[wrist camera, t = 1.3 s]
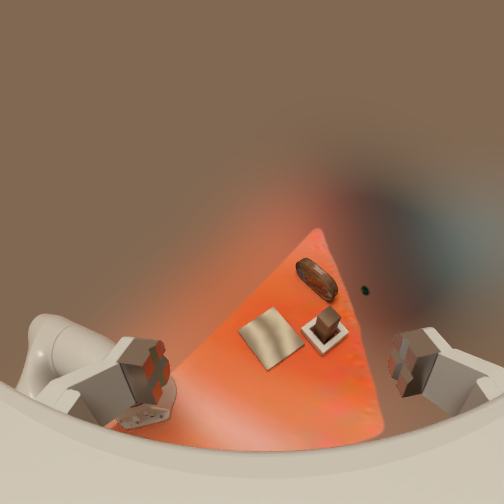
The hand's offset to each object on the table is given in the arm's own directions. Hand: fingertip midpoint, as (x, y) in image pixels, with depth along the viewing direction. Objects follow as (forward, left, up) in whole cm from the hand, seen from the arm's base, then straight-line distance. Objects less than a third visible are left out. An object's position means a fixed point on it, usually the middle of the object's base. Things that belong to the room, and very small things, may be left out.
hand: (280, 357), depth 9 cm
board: (+9, +21, -61) cm, 65 cm away
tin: (+29, +26, -61) cm, 73 cm away
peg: (+21, +13, -61) cm, 66 cm away
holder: (+21, +13, -61) cm, 66 cm away
